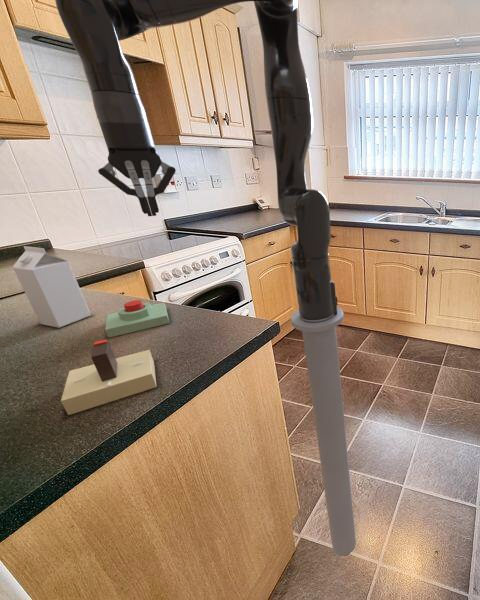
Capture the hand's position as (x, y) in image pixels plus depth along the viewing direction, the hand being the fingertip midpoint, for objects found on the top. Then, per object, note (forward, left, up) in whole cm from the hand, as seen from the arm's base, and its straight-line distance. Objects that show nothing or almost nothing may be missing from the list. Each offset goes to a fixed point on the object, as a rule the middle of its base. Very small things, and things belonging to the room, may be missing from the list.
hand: (152, 215), depth 70 cm
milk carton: (+24, -24, -27) cm, 43 cm away
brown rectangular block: (+13, +17, -24) cm, 32 cm away
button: (+9, -11, -23) cm, 27 cm away
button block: (+9, -11, -27) cm, 31 cm away
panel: (+13, +17, -27) cm, 34 cm away
